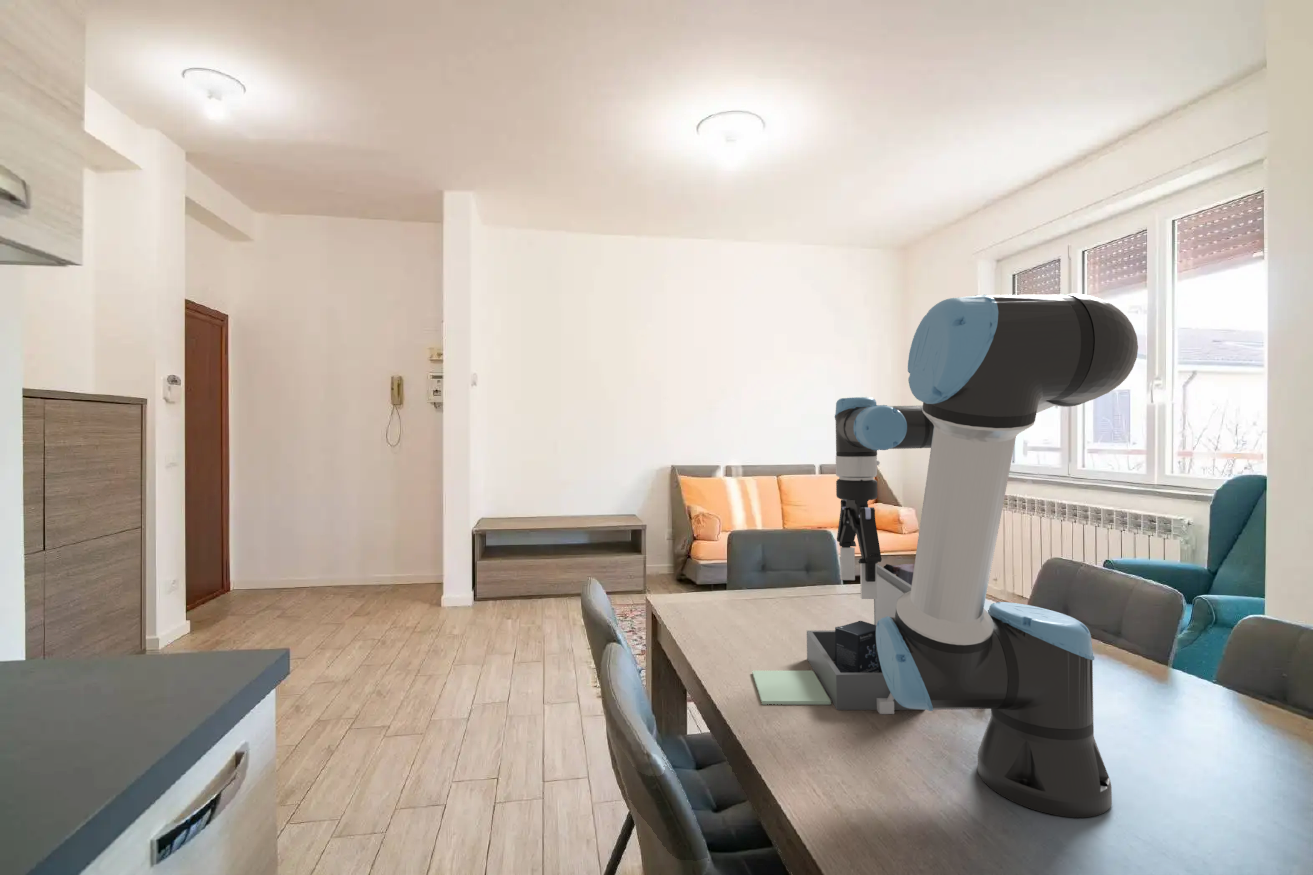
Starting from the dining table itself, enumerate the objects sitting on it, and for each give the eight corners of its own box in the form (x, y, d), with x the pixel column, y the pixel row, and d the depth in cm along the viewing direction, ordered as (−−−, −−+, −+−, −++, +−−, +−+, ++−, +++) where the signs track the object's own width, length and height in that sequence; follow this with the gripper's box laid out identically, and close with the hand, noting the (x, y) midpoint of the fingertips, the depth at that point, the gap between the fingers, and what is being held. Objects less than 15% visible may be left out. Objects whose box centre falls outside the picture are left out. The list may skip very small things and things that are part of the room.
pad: (830, 704, 106) (830, 701, 106) (762, 704, 106) (762, 700, 106) (813, 673, 120) (813, 670, 120) (752, 673, 120) (752, 670, 120)
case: (934, 714, 102) (932, 595, 102) (839, 713, 102) (837, 595, 102) (882, 658, 127) (881, 563, 127) (807, 658, 128) (805, 564, 128)
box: (858, 691, 111) (858, 634, 111) (834, 681, 116) (833, 626, 116) (885, 681, 115) (884, 626, 115) (860, 672, 120) (860, 619, 120)
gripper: (900, 484, 103) (901, 607, 103) (857, 473, 128) (858, 572, 128) (855, 484, 103) (857, 607, 104) (821, 473, 128) (822, 572, 129)
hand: (857, 588), depth 116 cm, fingers open, 13 cm apart
